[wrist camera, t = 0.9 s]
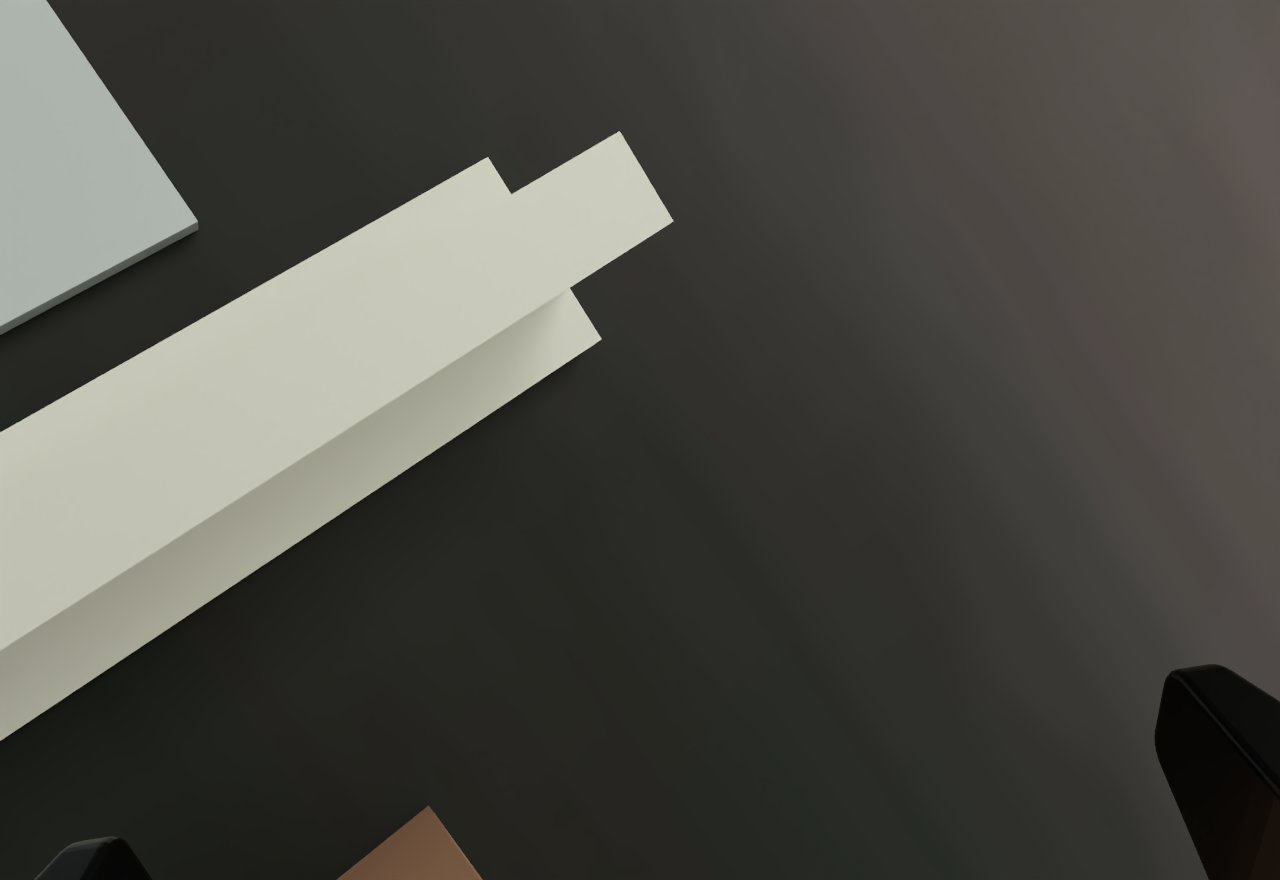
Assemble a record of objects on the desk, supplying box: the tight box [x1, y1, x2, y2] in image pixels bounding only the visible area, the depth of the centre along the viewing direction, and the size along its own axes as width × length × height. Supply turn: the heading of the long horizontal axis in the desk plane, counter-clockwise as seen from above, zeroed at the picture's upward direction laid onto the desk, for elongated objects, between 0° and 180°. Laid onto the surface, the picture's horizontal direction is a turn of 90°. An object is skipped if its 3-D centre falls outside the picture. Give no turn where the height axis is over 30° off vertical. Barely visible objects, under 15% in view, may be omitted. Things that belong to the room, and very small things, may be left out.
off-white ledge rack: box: [0, 131, 673, 741], centre depth 15 cm, size 4×20×6 cm, turn 124°
